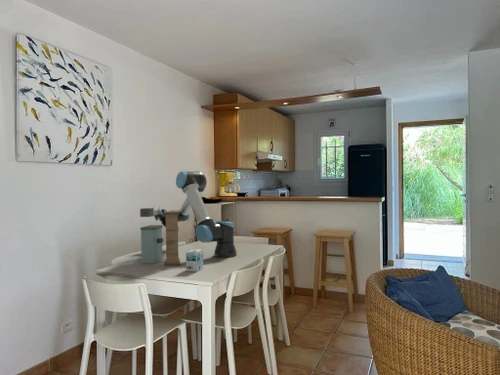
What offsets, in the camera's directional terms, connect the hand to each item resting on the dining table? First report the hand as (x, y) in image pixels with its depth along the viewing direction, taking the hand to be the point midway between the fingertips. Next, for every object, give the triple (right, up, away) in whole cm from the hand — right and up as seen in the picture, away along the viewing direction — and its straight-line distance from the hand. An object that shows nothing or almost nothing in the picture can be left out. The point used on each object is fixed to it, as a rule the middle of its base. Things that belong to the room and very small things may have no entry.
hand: (156, 208), depth 247 cm
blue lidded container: (+1, -33, -9) cm, 34 cm away
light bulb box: (+31, -33, -36) cm, 58 cm away
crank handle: (-1, -4, -4) cm, 6 cm away
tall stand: (+14, -33, -17) cm, 40 cm away
